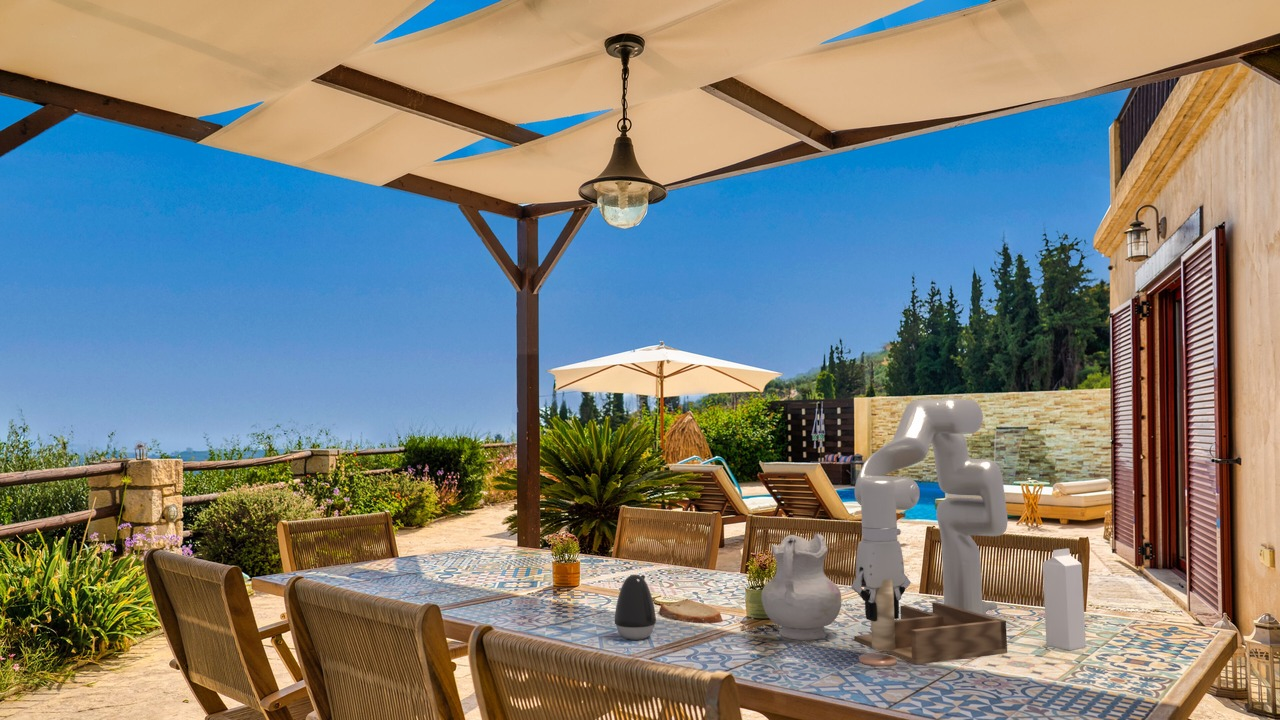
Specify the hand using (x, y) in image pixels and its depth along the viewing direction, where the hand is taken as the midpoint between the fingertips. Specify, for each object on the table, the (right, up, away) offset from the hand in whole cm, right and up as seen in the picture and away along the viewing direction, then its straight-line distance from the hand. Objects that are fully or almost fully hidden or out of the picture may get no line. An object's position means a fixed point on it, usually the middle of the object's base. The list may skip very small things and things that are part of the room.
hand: (882, 618), depth 194 cm
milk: (+45, -9, +9) cm, 47 cm away
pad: (-1, -9, -1) cm, 9 cm away
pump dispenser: (-54, -12, +24) cm, 61 cm away
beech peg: (0, -6, -1) cm, 6 cm away
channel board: (+14, -10, +11) cm, 20 cm away
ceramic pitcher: (-13, -11, +23) cm, 29 cm away
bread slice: (-39, -14, +48) cm, 64 cm away
